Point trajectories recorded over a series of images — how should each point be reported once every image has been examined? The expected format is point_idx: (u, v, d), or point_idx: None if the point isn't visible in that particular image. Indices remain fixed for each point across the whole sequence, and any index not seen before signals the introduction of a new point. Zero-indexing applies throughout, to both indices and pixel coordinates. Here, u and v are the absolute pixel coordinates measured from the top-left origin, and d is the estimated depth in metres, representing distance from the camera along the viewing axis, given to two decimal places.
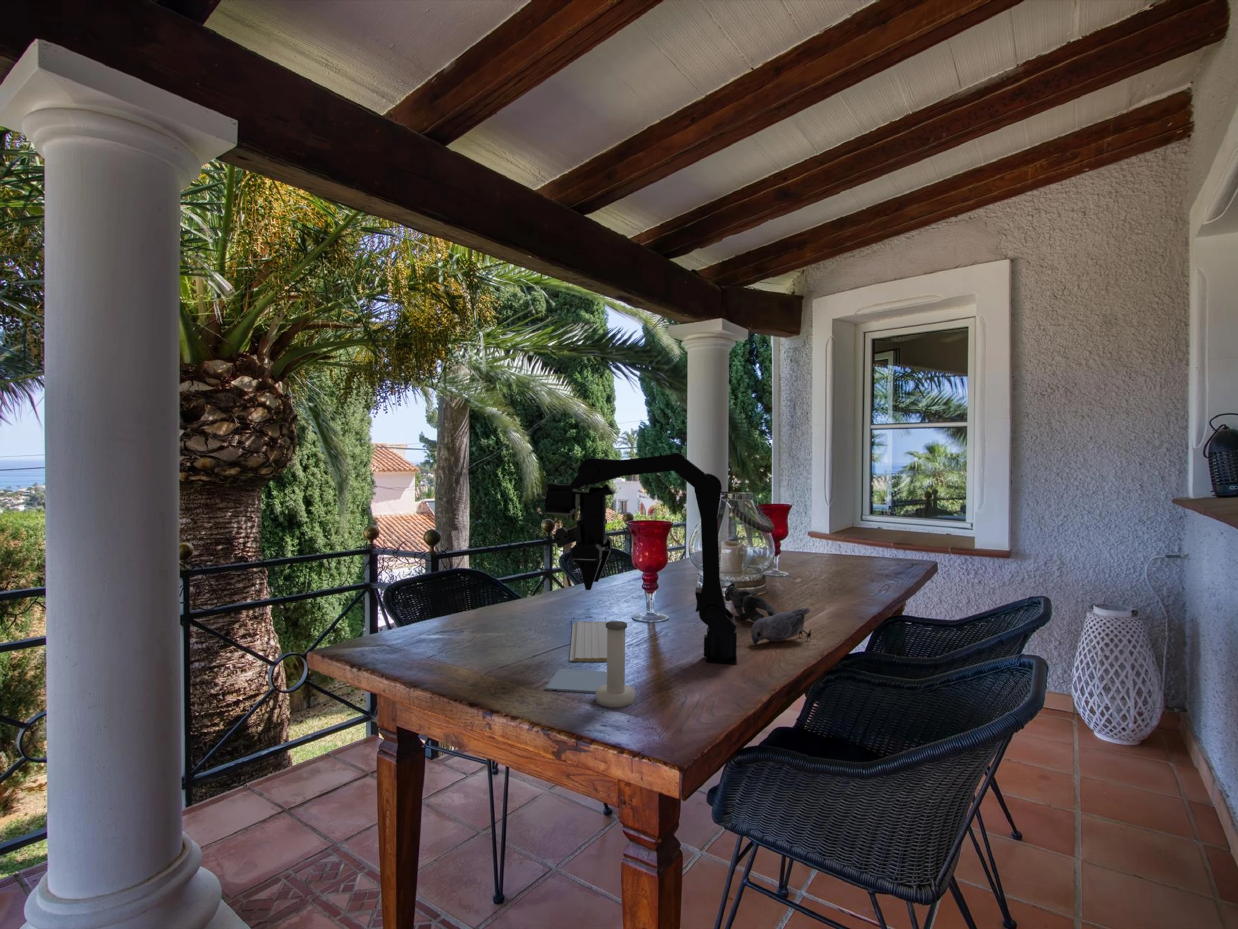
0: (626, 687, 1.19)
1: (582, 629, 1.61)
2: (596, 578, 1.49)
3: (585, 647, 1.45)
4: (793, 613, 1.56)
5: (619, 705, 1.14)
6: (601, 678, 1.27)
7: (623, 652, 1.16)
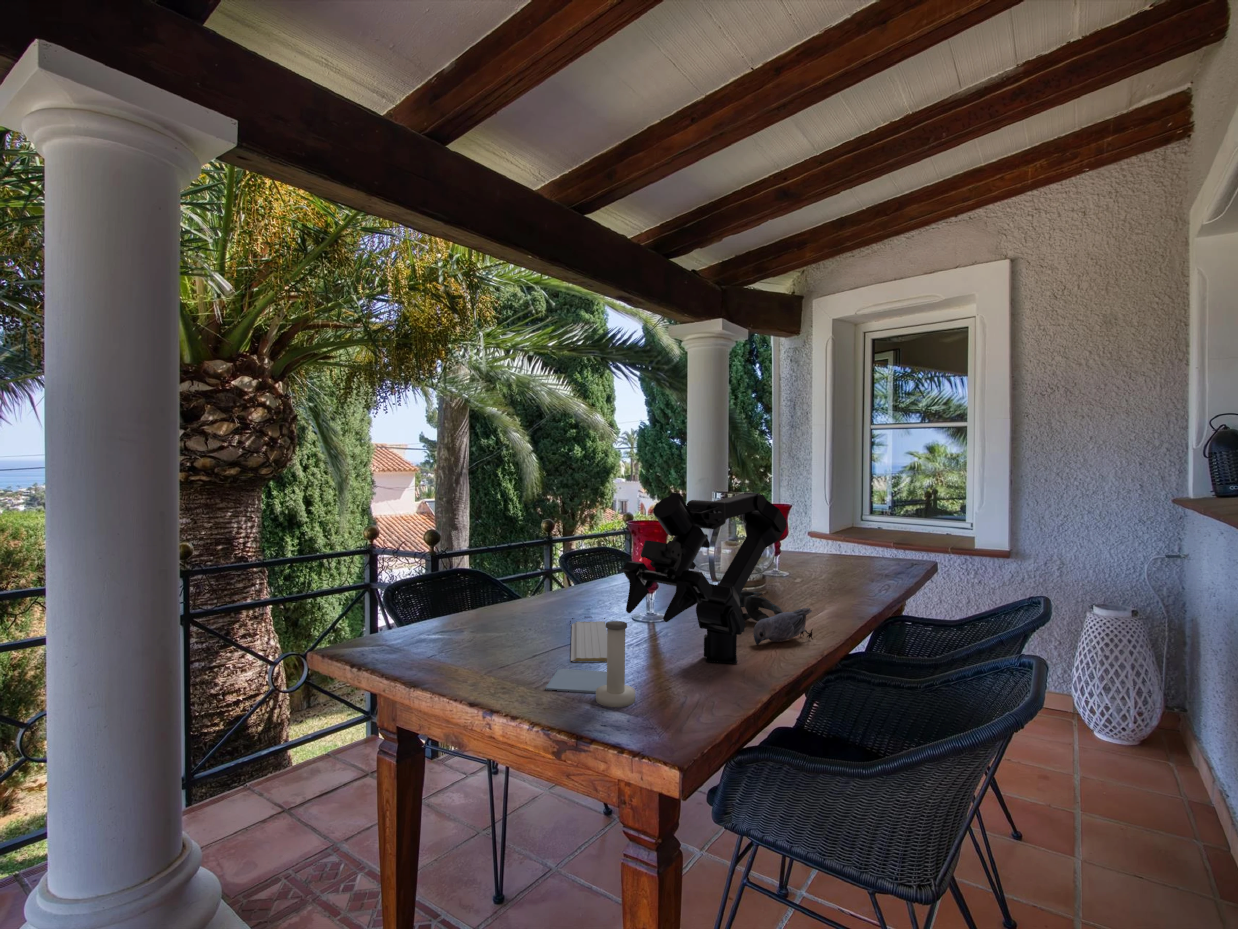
0: (626, 687, 1.19)
1: (582, 629, 1.61)
2: (630, 609, 1.26)
3: (586, 648, 1.45)
4: (795, 613, 1.56)
5: (619, 705, 1.14)
6: (601, 678, 1.27)
7: (623, 652, 1.16)
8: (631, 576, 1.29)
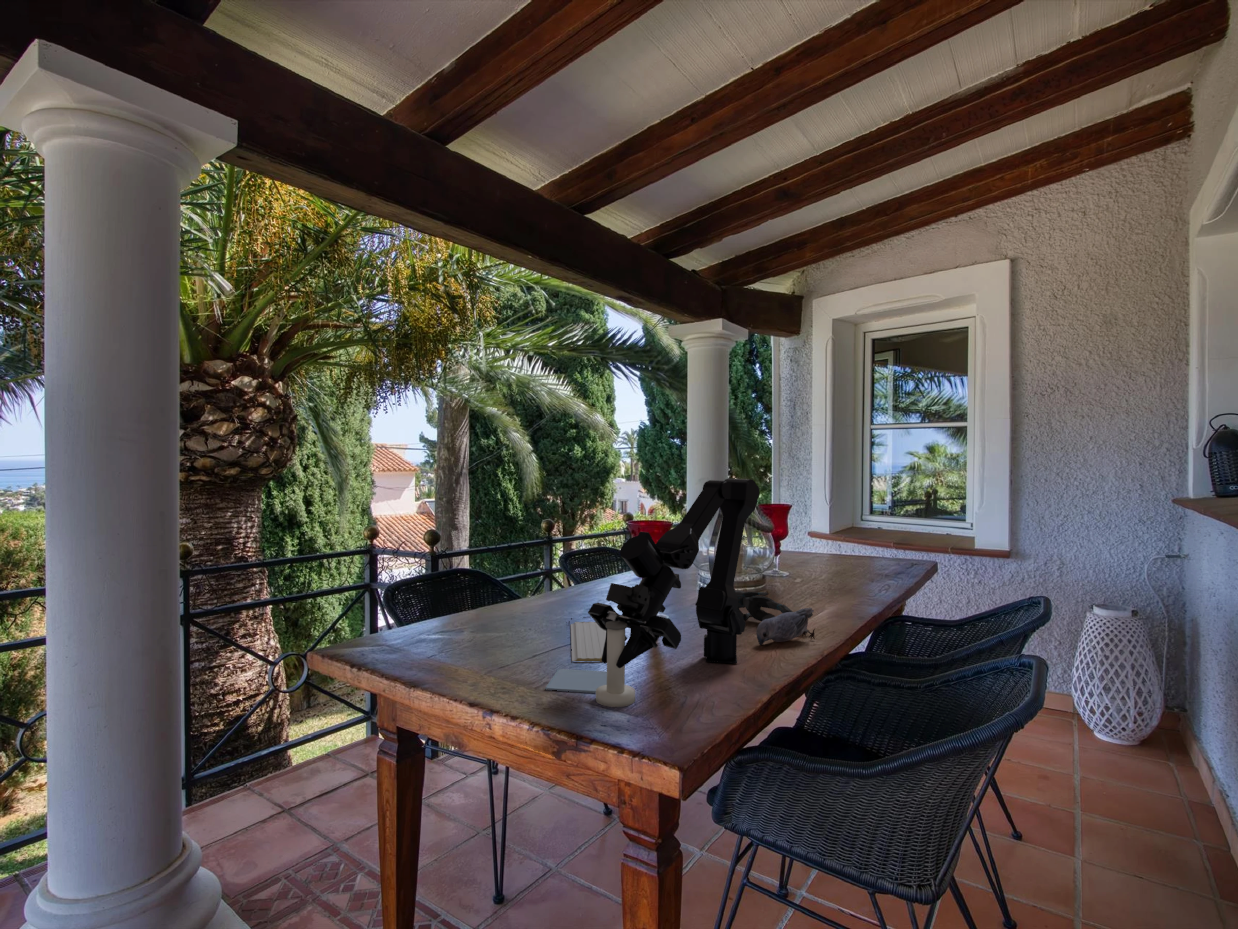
0: (626, 687, 1.19)
1: (581, 629, 1.61)
2: (606, 659, 1.18)
3: (586, 648, 1.45)
4: (797, 613, 1.56)
5: (619, 705, 1.14)
6: (601, 678, 1.27)
7: None
8: None
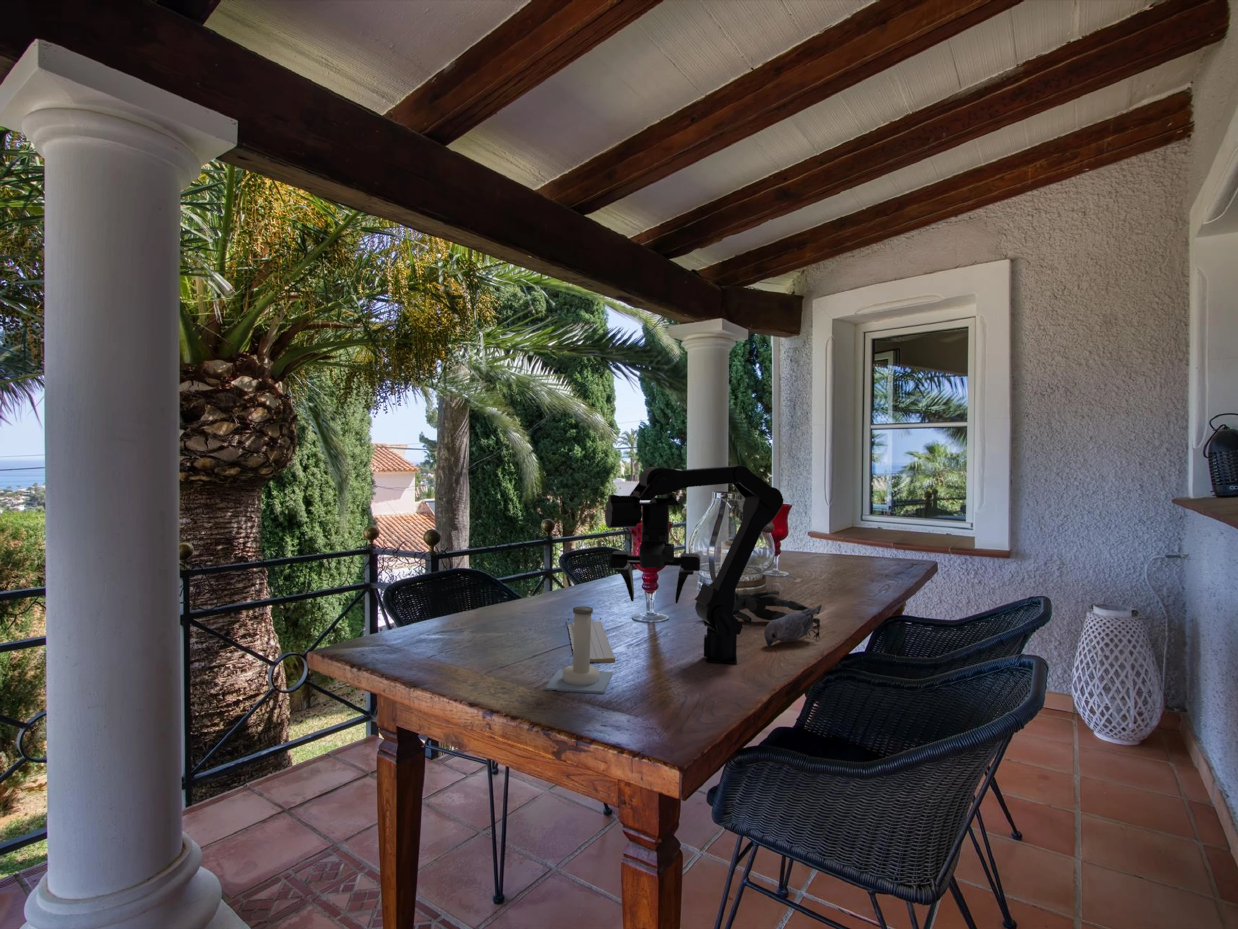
0: (594, 669, 1.27)
1: None
2: (633, 597, 1.38)
3: None
4: (803, 613, 1.56)
5: (576, 683, 1.23)
6: (601, 678, 1.27)
7: (586, 636, 1.25)
8: (624, 572, 1.35)
